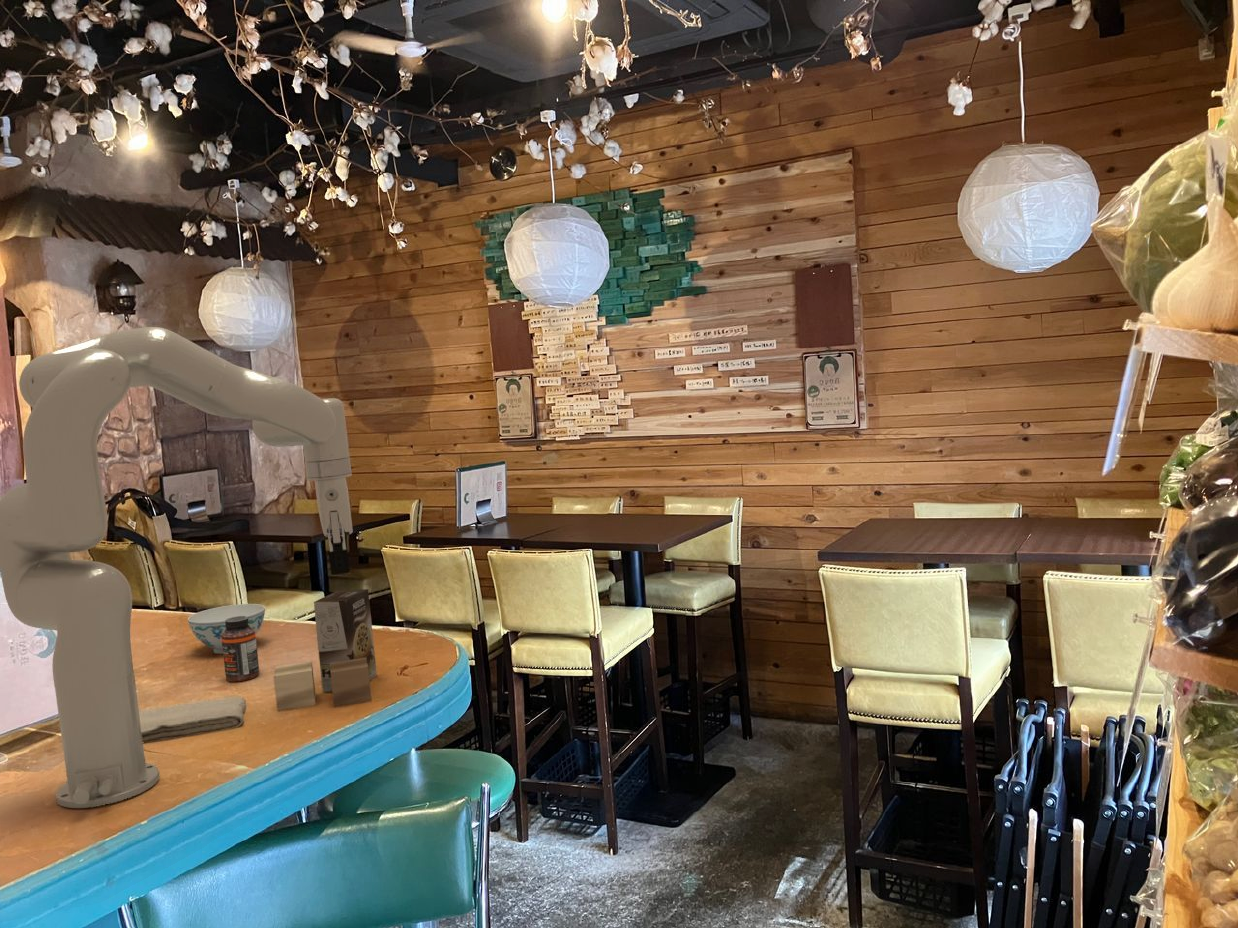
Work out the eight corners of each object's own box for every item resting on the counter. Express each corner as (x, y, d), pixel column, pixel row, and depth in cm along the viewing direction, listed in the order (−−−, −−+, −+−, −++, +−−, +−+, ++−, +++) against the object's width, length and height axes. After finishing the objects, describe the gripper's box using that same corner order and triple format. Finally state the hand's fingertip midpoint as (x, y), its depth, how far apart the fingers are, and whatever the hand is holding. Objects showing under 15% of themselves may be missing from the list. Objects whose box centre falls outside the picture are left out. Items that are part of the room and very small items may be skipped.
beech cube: (315, 705, 164) (311, 670, 163) (277, 711, 162) (273, 676, 162) (315, 694, 170) (311, 660, 169) (279, 700, 168) (275, 666, 167)
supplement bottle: (218, 681, 182) (211, 621, 181) (244, 671, 187) (237, 613, 186) (241, 683, 179) (234, 623, 178) (266, 673, 184) (260, 614, 183)
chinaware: (192, 647, 209) (188, 611, 208) (266, 634, 215) (262, 600, 214) (191, 664, 195) (187, 626, 194) (271, 650, 201) (267, 613, 200)
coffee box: (355, 692, 169) (346, 600, 168) (321, 692, 170) (311, 601, 169) (378, 675, 178) (369, 587, 176) (346, 675, 179) (336, 589, 178)
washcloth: (132, 725, 162) (130, 707, 161) (248, 706, 167) (246, 689, 167) (119, 750, 150) (117, 731, 150) (244, 729, 156) (242, 710, 156)
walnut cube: (371, 701, 164) (367, 666, 163) (334, 707, 162) (330, 672, 161) (369, 691, 169) (366, 657, 169) (333, 696, 168) (330, 662, 167)
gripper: (352, 471, 165) (364, 578, 167) (349, 464, 179) (360, 562, 181) (305, 476, 162) (318, 584, 164) (306, 468, 177) (318, 568, 179)
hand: (340, 572), depth 173 cm, fingers closed
